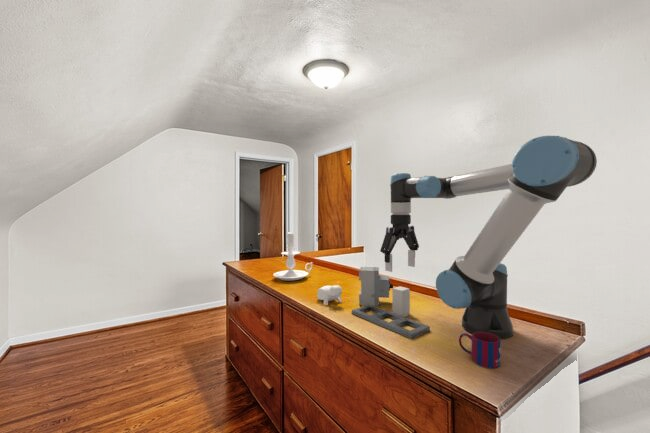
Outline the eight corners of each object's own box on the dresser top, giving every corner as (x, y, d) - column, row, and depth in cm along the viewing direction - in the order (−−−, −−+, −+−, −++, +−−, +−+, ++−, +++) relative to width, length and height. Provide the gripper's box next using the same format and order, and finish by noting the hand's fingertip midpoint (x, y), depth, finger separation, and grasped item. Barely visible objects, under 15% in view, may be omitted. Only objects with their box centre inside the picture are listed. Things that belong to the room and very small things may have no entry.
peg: (409, 314, 113) (409, 288, 113) (402, 317, 111) (402, 290, 110) (400, 311, 117) (400, 286, 117) (392, 313, 114) (392, 288, 114)
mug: (496, 371, 73) (496, 345, 73) (455, 357, 80) (455, 333, 80) (503, 361, 78) (503, 336, 78) (464, 349, 85) (464, 326, 85)
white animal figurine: (316, 307, 131) (332, 304, 119) (313, 288, 134) (328, 283, 121) (333, 304, 135) (349, 300, 123) (329, 285, 138) (345, 280, 125)
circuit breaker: (393, 306, 122) (393, 271, 122) (359, 305, 125) (358, 270, 124) (392, 301, 129) (392, 267, 129) (360, 299, 132) (360, 266, 132)
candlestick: (320, 279, 170) (320, 231, 169) (280, 285, 158) (279, 233, 157) (305, 272, 188) (305, 229, 187) (268, 277, 176) (267, 231, 175)
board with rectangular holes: (430, 330, 98) (429, 326, 98) (411, 338, 92) (411, 334, 92) (369, 308, 120) (369, 304, 120) (351, 313, 114) (351, 310, 114)
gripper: (412, 213, 123) (412, 263, 124) (370, 214, 108) (370, 271, 109) (428, 213, 117) (427, 265, 118) (386, 215, 102) (386, 275, 103)
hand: (400, 268), depth 114 cm, fingers open, 13 cm apart
